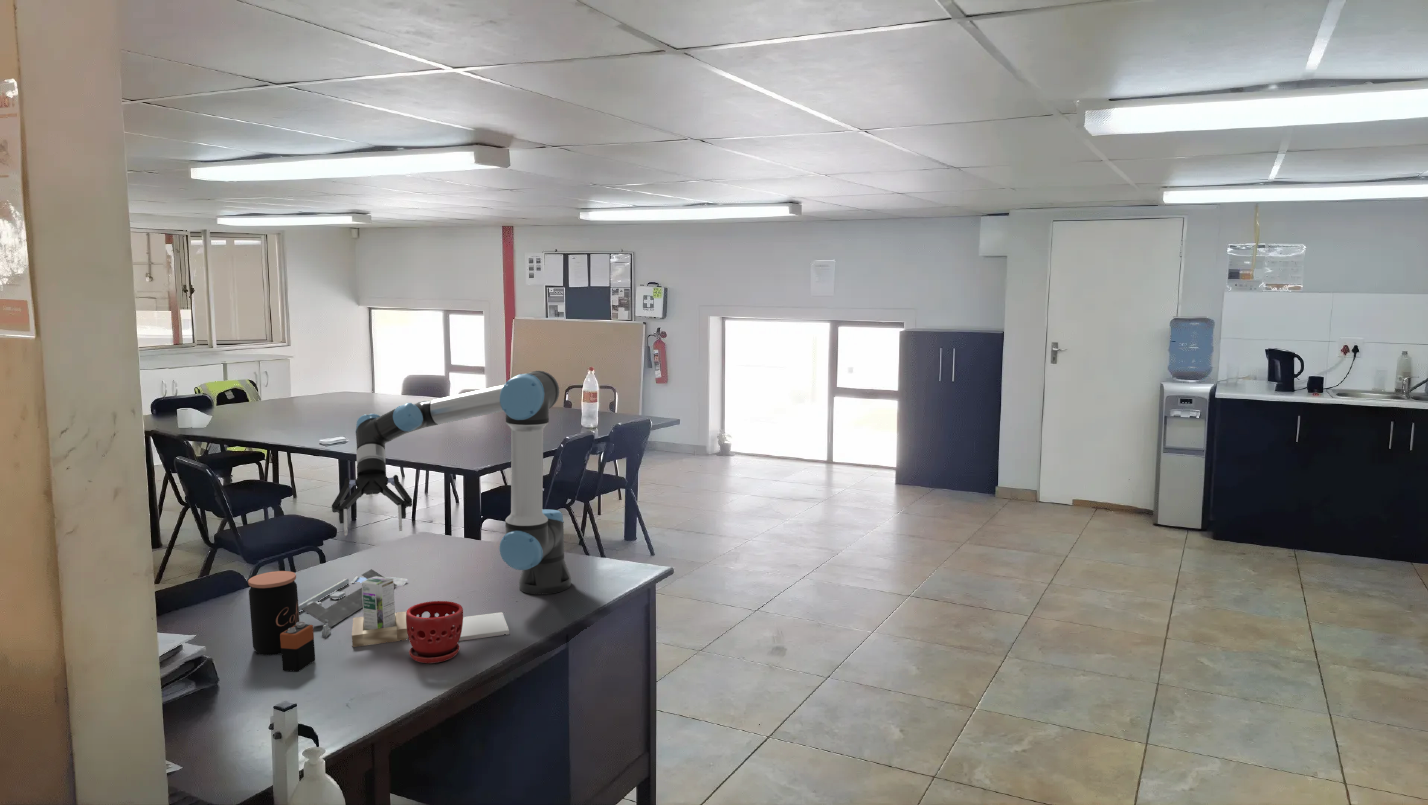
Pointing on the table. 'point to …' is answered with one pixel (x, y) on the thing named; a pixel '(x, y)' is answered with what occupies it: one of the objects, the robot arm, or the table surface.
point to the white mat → (483, 626)
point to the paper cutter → (343, 606)
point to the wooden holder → (379, 632)
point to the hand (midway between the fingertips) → (373, 530)
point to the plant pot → (434, 631)
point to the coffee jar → (272, 609)
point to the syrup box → (378, 603)
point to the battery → (297, 647)
